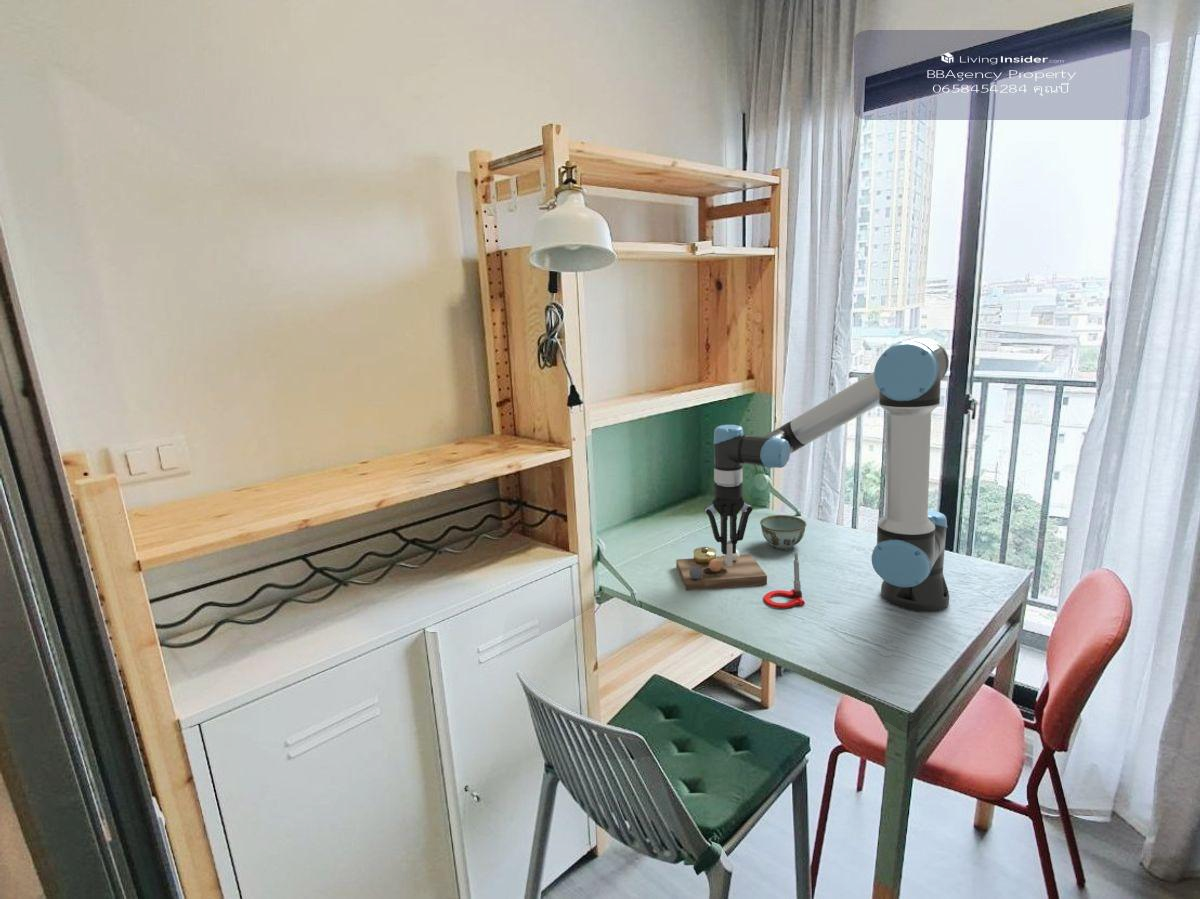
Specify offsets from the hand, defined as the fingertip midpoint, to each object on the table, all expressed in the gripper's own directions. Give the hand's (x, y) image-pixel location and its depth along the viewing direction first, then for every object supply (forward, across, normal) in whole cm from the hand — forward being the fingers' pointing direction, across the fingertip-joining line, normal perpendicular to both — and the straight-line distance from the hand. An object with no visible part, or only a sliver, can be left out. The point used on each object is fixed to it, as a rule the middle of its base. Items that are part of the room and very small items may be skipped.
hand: (728, 564), depth 167 cm
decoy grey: (0, +10, +4) cm, 11 cm away
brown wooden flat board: (+4, +2, -2) cm, 5 cm away
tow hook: (+4, -10, +15) cm, 19 cm away
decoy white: (0, -3, -6) cm, 6 cm away
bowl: (+4, -22, -19) cm, 29 cm away
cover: (+1, +5, -7) cm, 9 cm away
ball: (0, +4, 0) cm, 4 cm away
